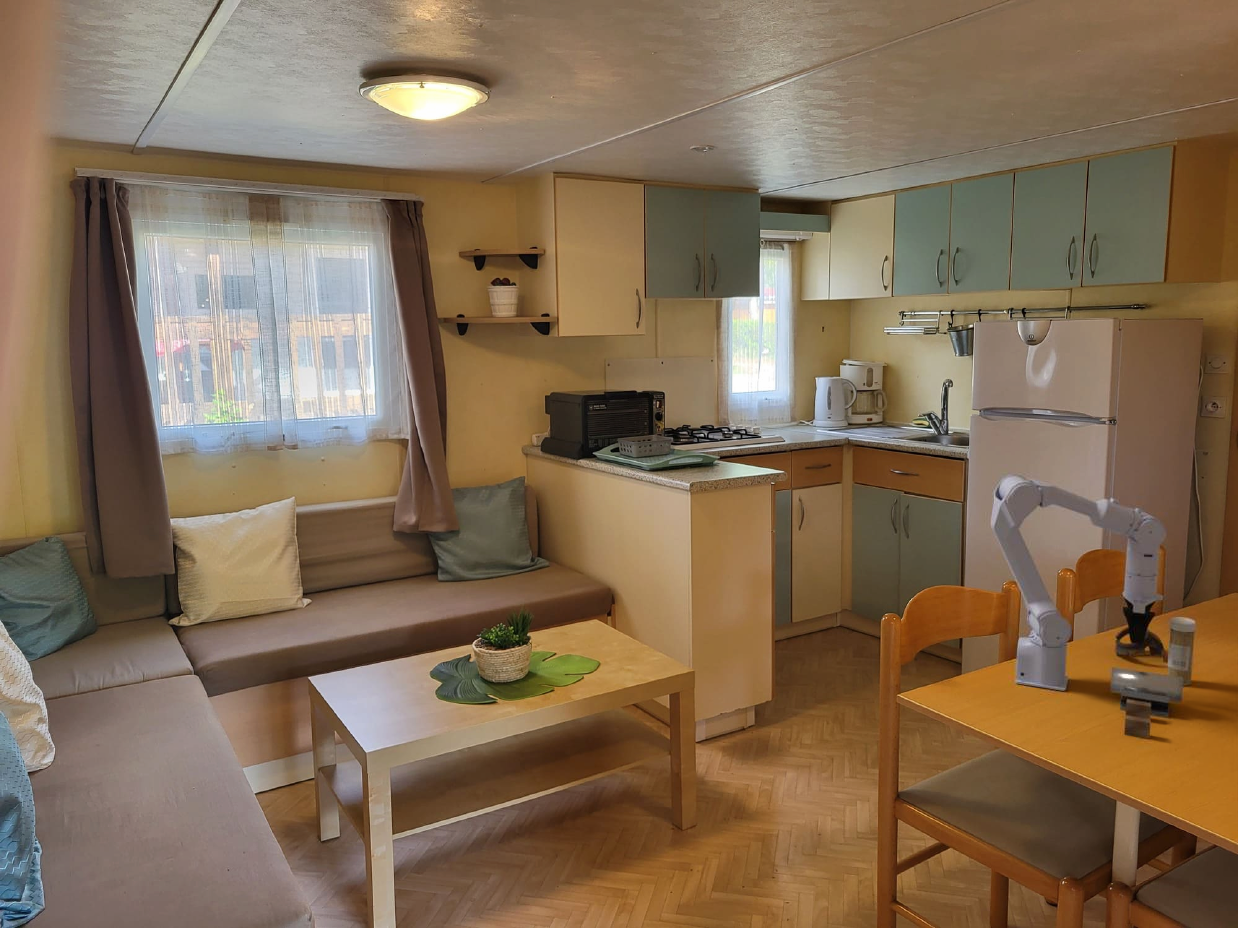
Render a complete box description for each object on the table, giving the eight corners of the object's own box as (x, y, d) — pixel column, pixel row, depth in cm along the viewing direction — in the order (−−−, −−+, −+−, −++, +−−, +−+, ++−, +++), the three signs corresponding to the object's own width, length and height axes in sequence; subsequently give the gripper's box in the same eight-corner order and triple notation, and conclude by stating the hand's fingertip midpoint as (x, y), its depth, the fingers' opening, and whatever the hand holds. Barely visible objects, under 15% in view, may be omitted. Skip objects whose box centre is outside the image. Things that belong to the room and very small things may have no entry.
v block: (1120, 709, 180) (1121, 690, 179) (1121, 695, 187) (1122, 677, 186) (1168, 717, 176) (1169, 698, 175) (1167, 702, 183) (1169, 684, 182)
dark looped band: (1173, 670, 200) (1157, 639, 199) (1127, 682, 205) (1111, 652, 203) (1164, 638, 210) (1148, 609, 209) (1120, 650, 215) (1105, 622, 214)
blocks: (1124, 734, 170) (1125, 718, 169) (1125, 713, 178) (1126, 699, 178) (1149, 738, 168) (1150, 723, 167) (1149, 717, 176) (1150, 702, 176)
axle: (1110, 694, 182) (1111, 671, 181) (1111, 686, 186) (1112, 663, 185) (1181, 706, 176) (1183, 682, 175) (1180, 697, 180) (1182, 673, 179)
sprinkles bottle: (1195, 682, 192) (1200, 620, 190) (1184, 688, 189) (1189, 624, 187) (1172, 676, 196) (1177, 614, 193) (1161, 681, 193) (1165, 619, 191)
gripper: (1164, 584, 179) (1159, 651, 181) (1164, 566, 192) (1159, 629, 194) (1123, 579, 183) (1118, 645, 185) (1125, 562, 195) (1121, 624, 197)
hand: (1137, 637), depth 190 cm, fingers open, 7 cm apart
